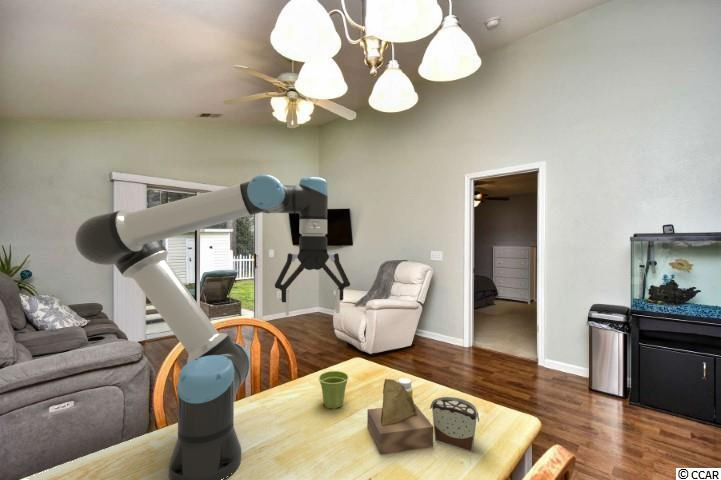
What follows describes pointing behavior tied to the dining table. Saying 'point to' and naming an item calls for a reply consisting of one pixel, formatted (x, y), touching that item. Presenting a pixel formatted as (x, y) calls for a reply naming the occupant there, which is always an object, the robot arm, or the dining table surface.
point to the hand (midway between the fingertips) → (312, 313)
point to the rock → (396, 403)
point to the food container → (454, 422)
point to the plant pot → (333, 388)
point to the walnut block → (400, 432)
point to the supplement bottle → (406, 385)
